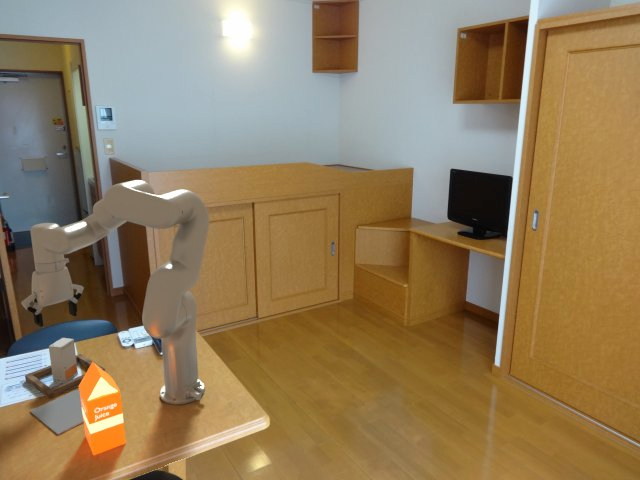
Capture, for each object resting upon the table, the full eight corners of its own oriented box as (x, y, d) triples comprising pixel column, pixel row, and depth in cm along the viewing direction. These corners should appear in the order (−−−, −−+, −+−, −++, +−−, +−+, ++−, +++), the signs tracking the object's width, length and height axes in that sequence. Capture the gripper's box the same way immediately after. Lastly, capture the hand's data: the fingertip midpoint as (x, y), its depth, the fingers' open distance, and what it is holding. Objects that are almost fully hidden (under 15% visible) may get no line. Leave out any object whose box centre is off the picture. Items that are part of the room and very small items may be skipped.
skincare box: (65, 383, 144) (60, 347, 141) (52, 381, 145) (47, 346, 141) (78, 373, 150) (74, 338, 146) (67, 371, 150) (62, 337, 147)
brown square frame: (105, 374, 149) (104, 368, 149) (48, 398, 136) (47, 392, 136) (81, 359, 158) (80, 353, 157) (25, 381, 145) (24, 375, 144)
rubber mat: (113, 407, 132) (113, 406, 132) (57, 435, 121) (57, 434, 121) (84, 387, 142) (84, 386, 142) (30, 411, 130) (29, 410, 130)
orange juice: (117, 425, 125) (109, 356, 120) (126, 443, 118) (118, 371, 113) (84, 436, 121) (75, 365, 115) (92, 456, 114) (82, 381, 109)
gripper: (73, 256, 147) (79, 308, 151) (11, 270, 133) (20, 326, 138) (86, 261, 142) (91, 314, 147) (23, 276, 129) (31, 333, 133)
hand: (56, 320), depth 142 cm, fingers open, 9 cm apart
